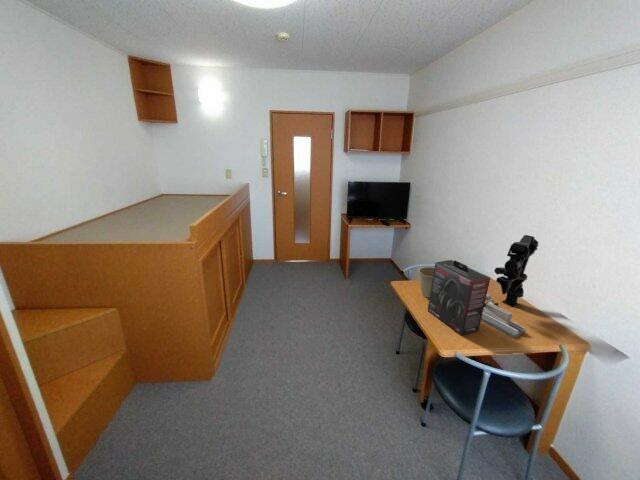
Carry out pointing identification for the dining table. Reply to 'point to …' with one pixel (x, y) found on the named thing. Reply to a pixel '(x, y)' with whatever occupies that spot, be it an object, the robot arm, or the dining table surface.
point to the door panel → (498, 313)
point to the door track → (503, 326)
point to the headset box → (458, 296)
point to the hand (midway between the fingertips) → (508, 292)
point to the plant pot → (426, 280)
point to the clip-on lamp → (489, 301)
